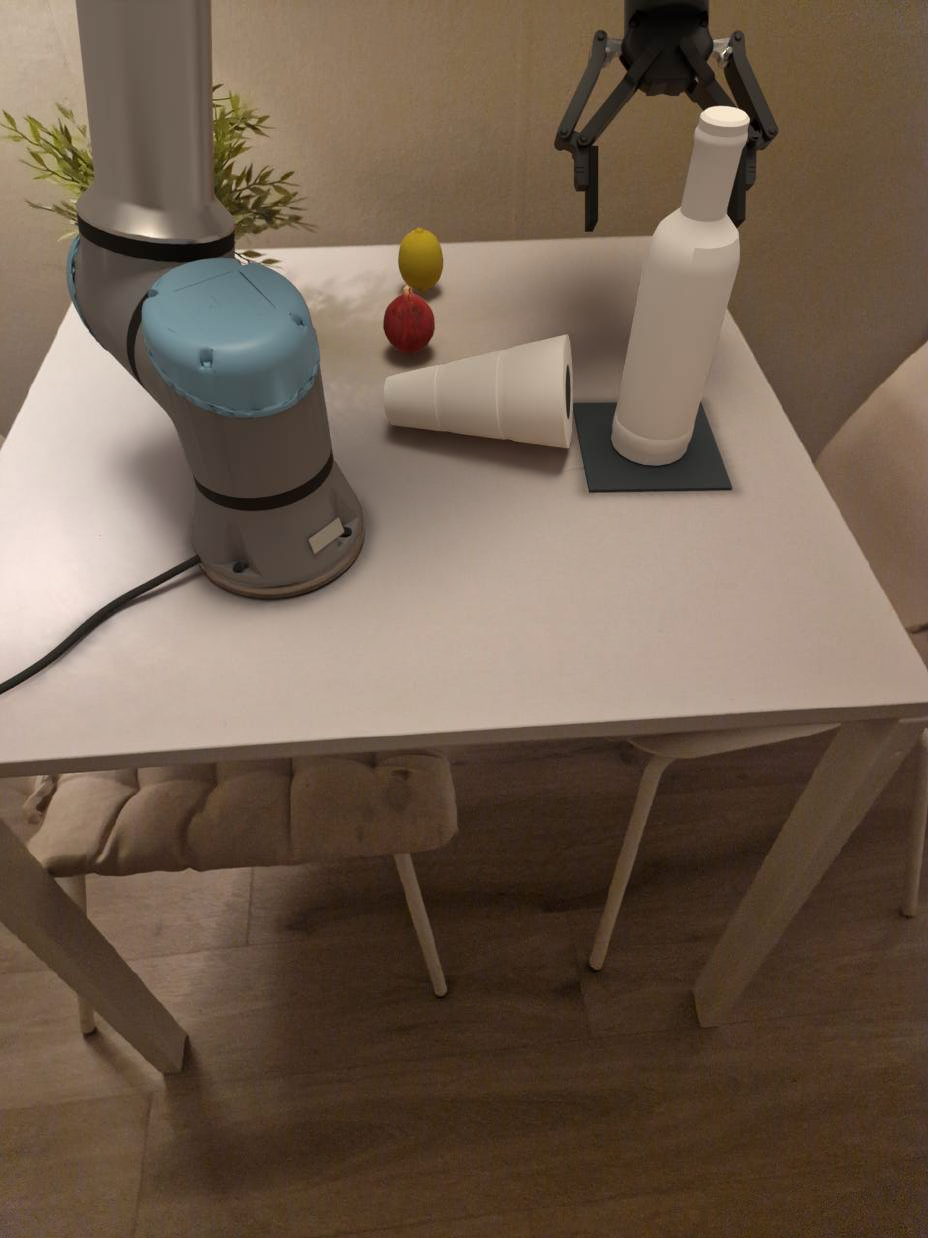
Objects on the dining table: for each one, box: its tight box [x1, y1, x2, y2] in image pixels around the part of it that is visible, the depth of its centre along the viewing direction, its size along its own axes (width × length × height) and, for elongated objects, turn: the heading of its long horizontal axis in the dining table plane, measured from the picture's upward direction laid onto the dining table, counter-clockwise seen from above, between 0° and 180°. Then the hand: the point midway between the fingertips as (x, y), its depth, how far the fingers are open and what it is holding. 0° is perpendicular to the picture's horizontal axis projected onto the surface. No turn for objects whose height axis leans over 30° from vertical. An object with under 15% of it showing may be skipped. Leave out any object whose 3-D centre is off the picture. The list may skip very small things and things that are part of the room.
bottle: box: [611, 106, 750, 466], centre depth 70 cm, size 8×8×30 cm
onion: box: [382, 284, 436, 355], centre depth 89 cm, size 6×6×8 cm
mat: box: [573, 401, 733, 493], centre depth 82 cm, size 14×14×1 cm
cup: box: [383, 333, 574, 449], centre depth 79 cm, size 11×11×18 cm
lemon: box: [397, 227, 444, 294], centre depth 98 cm, size 6×6×8 cm
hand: (663, 226), depth 74 cm, fingers open, 13 cm apart
